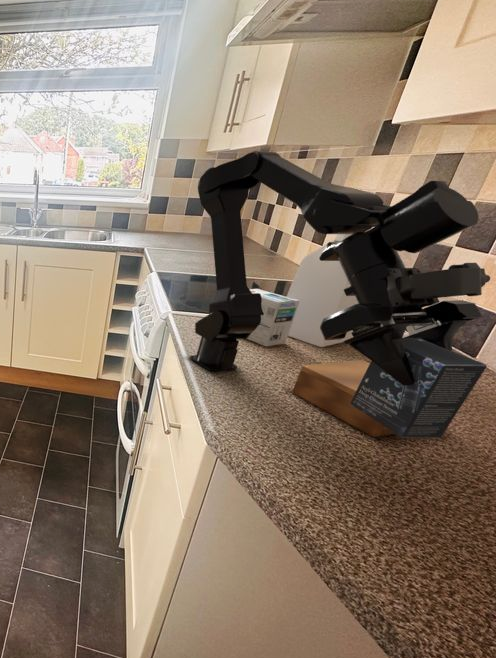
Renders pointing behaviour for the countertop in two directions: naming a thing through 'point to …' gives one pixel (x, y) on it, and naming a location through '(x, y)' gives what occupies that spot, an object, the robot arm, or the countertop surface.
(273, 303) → the light bulb box
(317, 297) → the milk
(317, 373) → the wooden plinth
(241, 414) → the countertop surface
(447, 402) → the box
